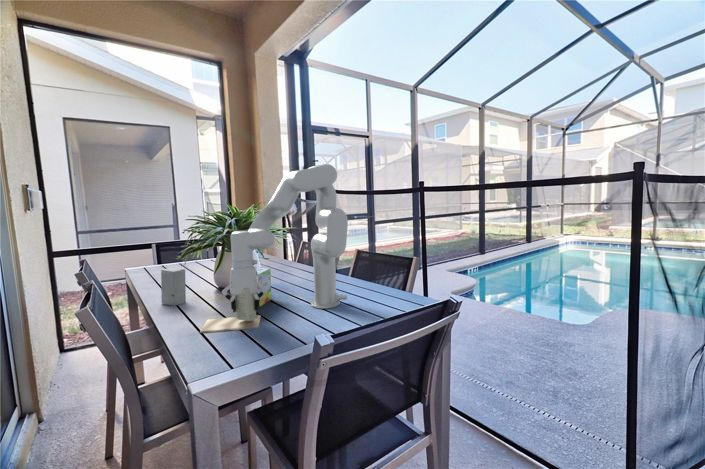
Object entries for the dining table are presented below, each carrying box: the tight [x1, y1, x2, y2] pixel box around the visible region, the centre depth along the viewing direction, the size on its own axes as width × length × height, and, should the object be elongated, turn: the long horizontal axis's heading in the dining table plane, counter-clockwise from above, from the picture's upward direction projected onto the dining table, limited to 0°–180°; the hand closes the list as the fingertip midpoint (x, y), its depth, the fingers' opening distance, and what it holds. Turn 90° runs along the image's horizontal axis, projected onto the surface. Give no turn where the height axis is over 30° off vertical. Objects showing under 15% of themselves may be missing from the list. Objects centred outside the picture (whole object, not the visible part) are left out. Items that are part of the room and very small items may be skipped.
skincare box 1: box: [160, 267, 187, 306], centre depth 156 cm, size 8×7×16 cm
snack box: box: [256, 267, 272, 309], centre depth 149 cm, size 21×6×15 cm, turn 168°
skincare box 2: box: [235, 289, 257, 321], centre depth 129 cm, size 6×4×12 cm
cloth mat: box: [199, 314, 262, 334], centre depth 129 cm, size 20×12×1 cm, turn 101°
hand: (245, 309), depth 129 cm, fingers closed on skincare box 2, 7 cm apart
